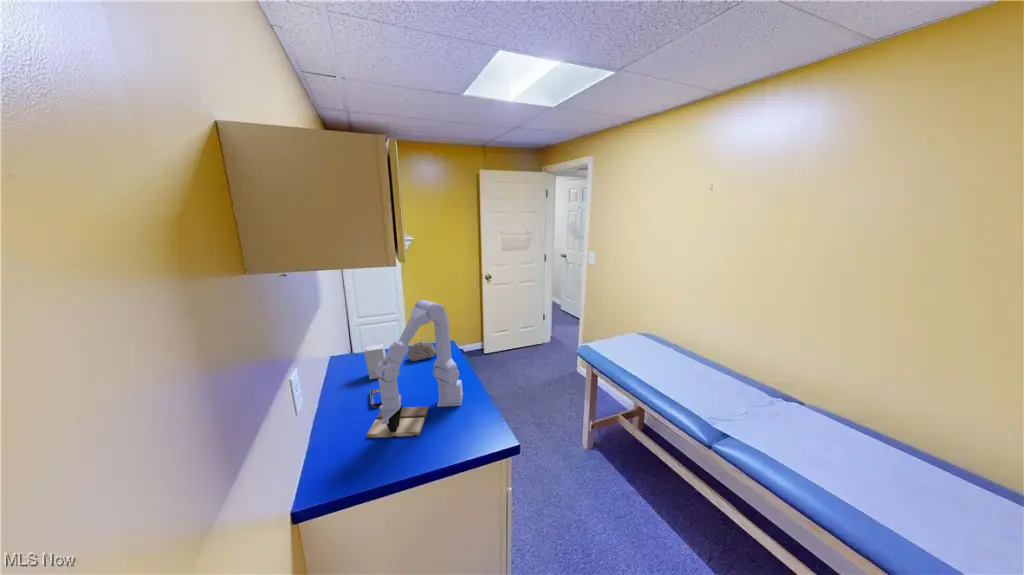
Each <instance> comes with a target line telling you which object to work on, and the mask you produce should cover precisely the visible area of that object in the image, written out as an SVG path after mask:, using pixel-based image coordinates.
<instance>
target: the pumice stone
mask: <svg viewBox="0 0 1024 575" xmlns="http://www.w3.org/2000/svg"><path fill="white" fill-rule="evenodd" d="M435 354H436V355H437V351H436V346H435V345H434V344H433V343H427V342H416V343H413V345H411V346H410V348H409V350H408V352H407V354H406V356H407V357H408V360H410V362H412V361H416V362H417V361H420V360H427V359H426V358H430V357H432V356H434V355H435ZM436 355H435V356H436ZM435 356H434V357H435ZM432 358H433V357H432ZM430 359H431V358H430Z"/></svg>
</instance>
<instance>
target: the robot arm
mask: <svg viewBox="0 0 1024 575" xmlns="http://www.w3.org/2000/svg"><path fill="white" fill-rule="evenodd" d="M431 322H432V323H433V325H434V337H435V338H434V339H435V340H434V341H435V350H436V352H437V354H436V360H435V361H434V362H433V366H434V367H433V370H432V375H433V377H434V378H435V379H436V381H437V389H438V398H439V399H438V401H437V404H436V407H438V408H439V407H440V408H441V407H458V406H459V407H460V406H462V402H463V398H464V392H463V382H462V379H459V377H460V370H459V369H458V366H457V363H456V362H455V361H454V359H453V358H452V349H451V347H452V346H451V337H450V324H449V316H448V314H447V312H446V310H445V305H442V304H441V303H438V302H433V301H430V300H426V299H419V300H418V301H417V302H416V303H415V304H414V307H413V308H412V309H411V315H410V317H409V320H408V321H407V324H406V325H405V328H404V330H403V332H402V333H401V336H400V337H399V339H398V340H395V341H393V343H392V344H390V345H389V349H388V350H387V352H386V356H385V357H386V358H385V357H384V358H383V360H382V361H381V362H380V363H378V364H377V366H376V368H375V371H374V374H375V375H376V376H377V377H378V378H377V379H378V386H379V389H380V392H379V393H380V398H381V399H380V400H381V402H382V405H381V406H380V407H378V409H379V410H380V411H381V410H382V417H381V421H382V424H386V425H387V426H388V428H389V430H390V432H396V431H397V427H399V423H400V414H401V411H402V408H403V405H402V402H401V400H402V396H401V394H400V392H399V388H398V380H397V378H398V376H399V374H400V367H401V364H402V363H403V360H404V359H405V357H406V356H407V355H408V352H409V350H410V348H409V344H410V342H411V341H412V339H413V338H414V336H415V335H416V333H417V332H418V330H419V329H420V327H421V326H424V325H427V324H430V323H431Z"/></svg>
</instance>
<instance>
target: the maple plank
mask: <svg viewBox="0 0 1024 575" xmlns="http://www.w3.org/2000/svg"><path fill="white" fill-rule="evenodd" d="M425 420H426V419H424V417H423V418H402V419H400V423H399V427H397V431H396V432H390V430H389V428H388V426H387V425H386V424H382V421H381V420H377V419H374V421H373V423H372V425H371V427H370V428H369V429H368V431H367V433H366V437H367V439H369V438H370V439H372V438H390V437H391V438H392V437H393V436H396V437H412V436H414V435H416V436H420V434H421V432H422V430H423V426H424V423H425ZM393 438H394V437H393Z"/></svg>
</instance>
